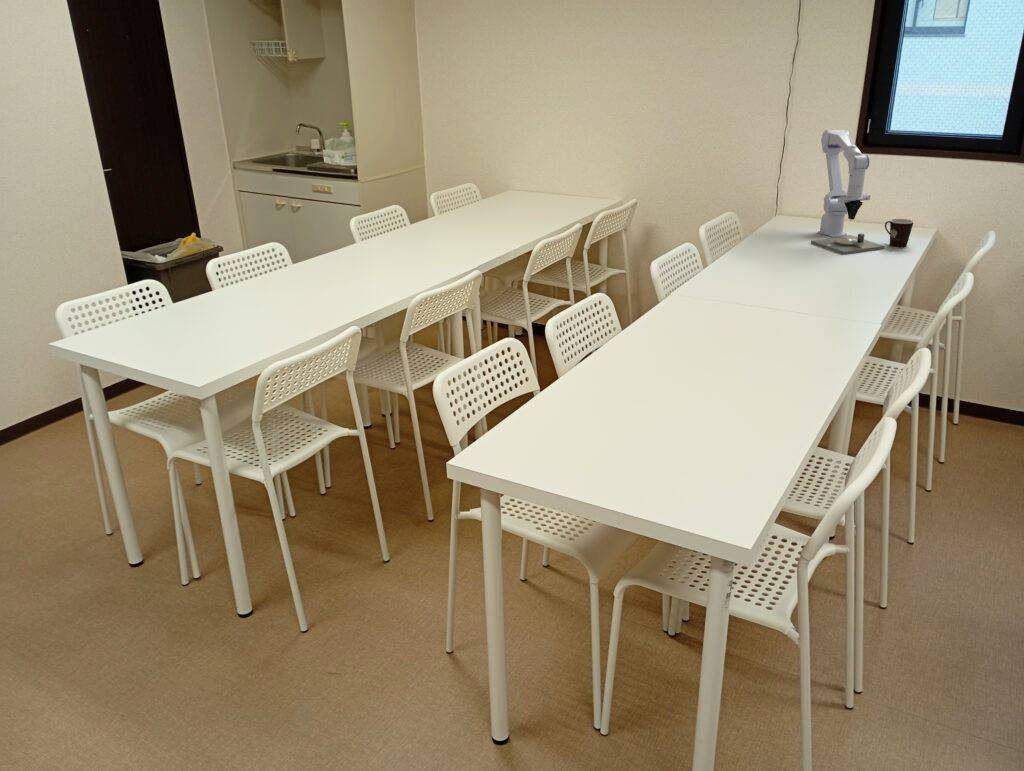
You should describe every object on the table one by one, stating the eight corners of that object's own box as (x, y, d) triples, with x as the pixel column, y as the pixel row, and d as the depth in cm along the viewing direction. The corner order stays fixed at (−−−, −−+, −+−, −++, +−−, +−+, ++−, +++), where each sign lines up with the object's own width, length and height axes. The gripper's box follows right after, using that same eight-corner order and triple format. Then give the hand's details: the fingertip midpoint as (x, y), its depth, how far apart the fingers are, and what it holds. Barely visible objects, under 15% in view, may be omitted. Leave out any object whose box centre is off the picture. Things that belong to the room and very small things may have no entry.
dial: (829, 241, 343) (830, 229, 341) (848, 238, 346) (850, 226, 344) (851, 249, 332) (853, 236, 329) (871, 245, 335) (873, 233, 333)
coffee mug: (913, 247, 335) (917, 223, 331) (891, 248, 335) (895, 223, 331) (901, 240, 345) (905, 216, 341) (880, 241, 346) (884, 217, 341)
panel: (810, 243, 346) (811, 239, 346) (850, 237, 352) (850, 234, 352) (843, 254, 329) (843, 251, 328) (884, 248, 335) (884, 245, 334)
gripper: (847, 189, 330) (843, 223, 336) (877, 185, 334) (872, 219, 340) (835, 186, 336) (831, 219, 342) (865, 182, 340) (860, 215, 346)
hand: (851, 219), depth 341 cm, fingers closed
